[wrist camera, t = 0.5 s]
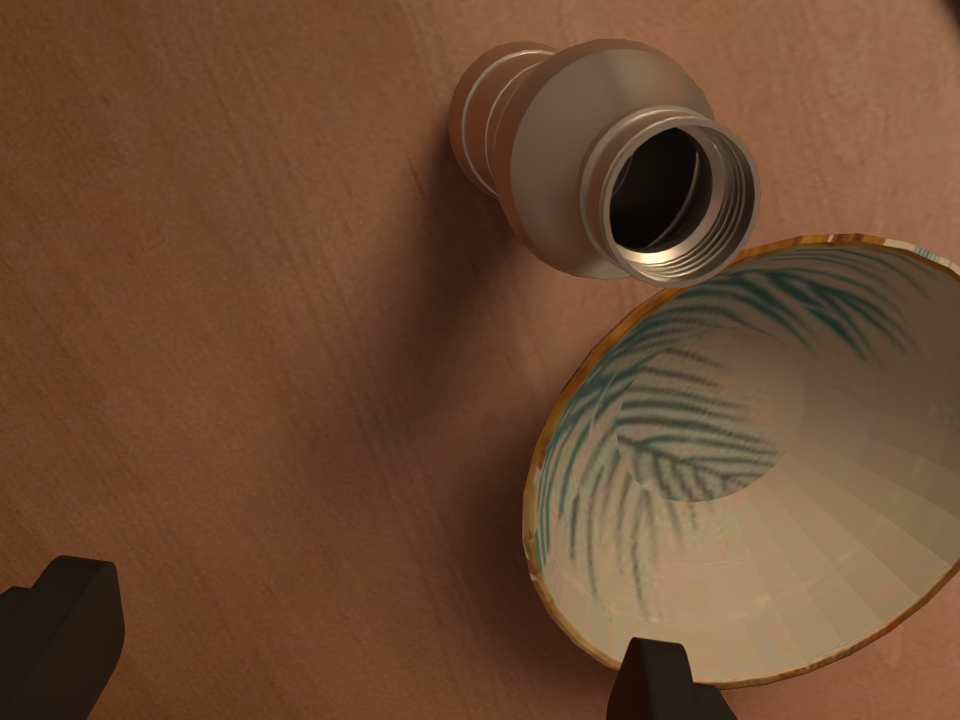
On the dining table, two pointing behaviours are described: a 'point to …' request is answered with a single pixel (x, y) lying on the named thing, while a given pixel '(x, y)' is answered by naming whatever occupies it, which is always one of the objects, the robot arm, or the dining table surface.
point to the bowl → (758, 463)
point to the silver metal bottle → (606, 160)
